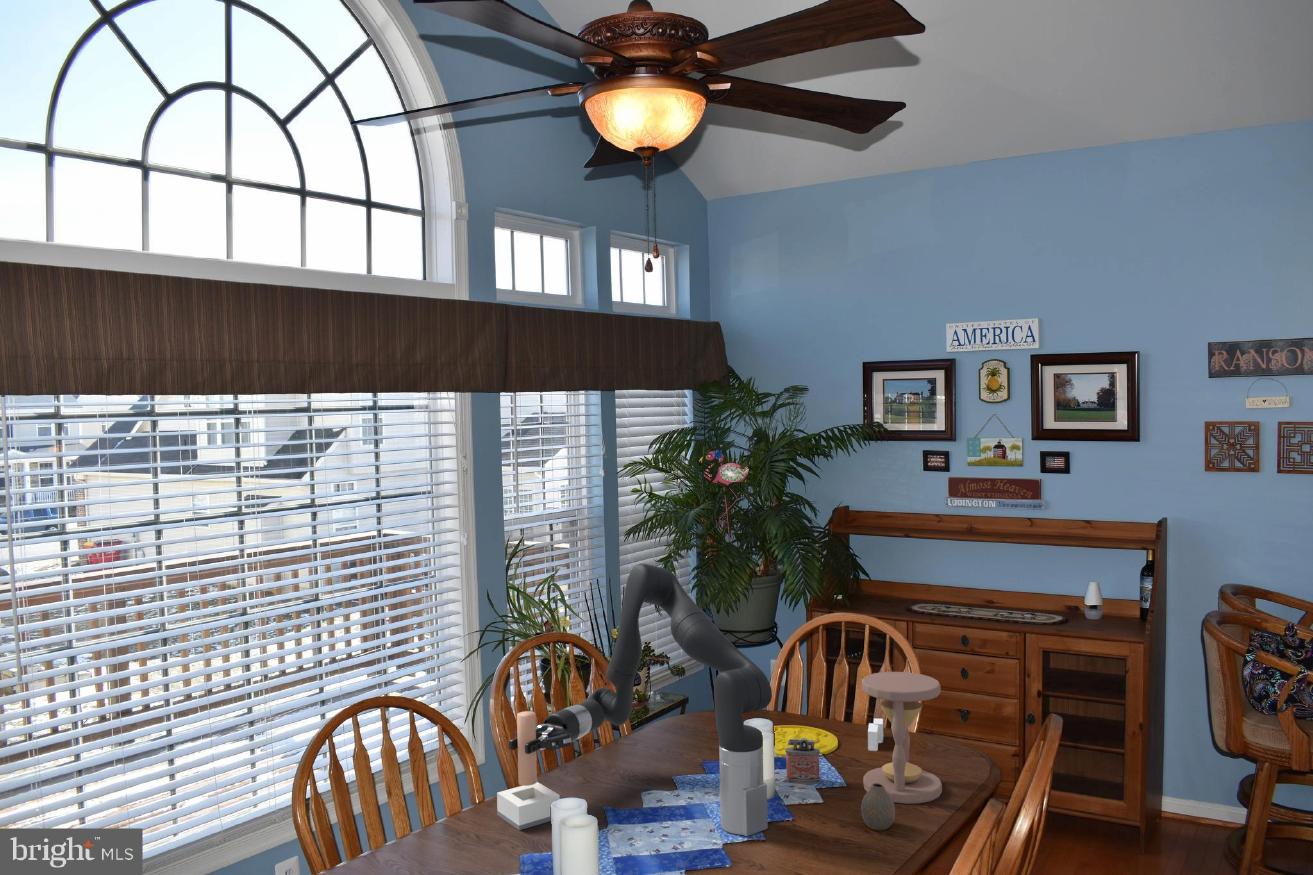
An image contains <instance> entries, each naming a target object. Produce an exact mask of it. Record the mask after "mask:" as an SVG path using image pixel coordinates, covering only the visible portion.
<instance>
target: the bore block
mask: <svg viewBox="0 0 1313 875" xmlns="http://www.w3.org/2000/svg"><path fill="white" fill-rule="evenodd" d="M560 798H561V797H560V794H558V793H557V792H555V791H554V790H552V789H551V788H548V787H547V786H545V785H543V784H542V783H539V781H537V783H535V784H533V785H529V786H523V785H519V786H516V787H513V788H510V789H505V790H502V791H499V792H496V801H497V803H496V806H497V808H496V810H497V812H496V813H497V816H498V817H500V819H502V820H504V821H505V822H506V823H508V824H509V825H511V826H512V827H513V828H515V829H516V830H518V831H521V830H525V829H528V828H532V827H535V826H539V825H542V824H545V823H548V822H551V818H550V807H551V804H552V802H554V801H557V800H559V799H560ZM560 800H561V799H560Z"/></svg>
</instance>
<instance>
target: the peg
mask: <svg viewBox="0 0 1313 875" xmlns="http://www.w3.org/2000/svg"><path fill="white" fill-rule="evenodd" d="M536 717H537V716H536V712H534V711H530V710H529V711H528V710H524V711H521V712H517V714H516V726H517V727H516V728H517V729H516V731H517V737H518V748H517V769H518V770H517V772H518V773H517V775H518V776H517V777H518V785H519V786H529V785H533V784H535V783H537V782H538V773H537V772H538V771H537V770H538V769H537V762H538V761H537V751H535V752H533V753H530V754H526V753H525V744H526V743H529V742H531V741H533V740H535V739H536V726H537V724H536V723H537V722H536V719H537V718H536Z"/></svg>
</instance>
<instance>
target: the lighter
mask: <svg viewBox="0 0 1313 875" xmlns="http://www.w3.org/2000/svg"><path fill="white" fill-rule="evenodd" d="M788 745H794V747H789V748H786V749H785V753H786V758H785V759H786V760H785V764H786V771H785V772H786V776H785V782H787V783H789V784H790V783H791V784H820V783H821V776H820V756H819V754H820V749H818V748H814V740H807V739H806V738H802V739H801V740H798V739H789V740H788ZM797 745H800V746H799V747H797ZM809 746H810V747H809Z"/></svg>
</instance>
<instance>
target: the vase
mask: <svg viewBox="0 0 1313 875" xmlns="http://www.w3.org/2000/svg"><path fill="white" fill-rule="evenodd" d="M860 808H861V809H860V810H861V816H862V819H863V822H864V823H865V824H866V826H867V827H869V829H871V830H873V831H885V830H887V829H889V828H890V827H891V826H892V825H893V822H894V820H895V816H896V806H895V802H893V800H892V798H891V796H890V795H889V794H888V792H887V791H886V790H885V788H884V786H883V784H880V783H874V784H872V786H871V788H870V789H869V791H868V792H867V791H866V793H865V794H864V796H863V798H862V800H861V805H860Z"/></svg>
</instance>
